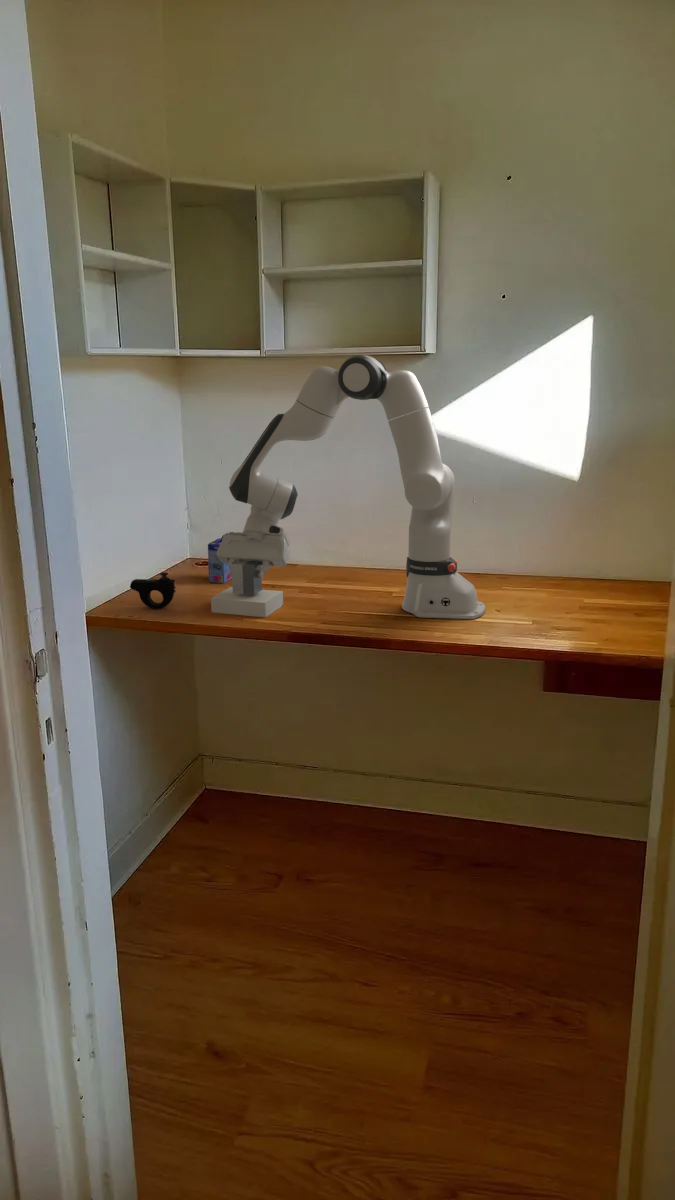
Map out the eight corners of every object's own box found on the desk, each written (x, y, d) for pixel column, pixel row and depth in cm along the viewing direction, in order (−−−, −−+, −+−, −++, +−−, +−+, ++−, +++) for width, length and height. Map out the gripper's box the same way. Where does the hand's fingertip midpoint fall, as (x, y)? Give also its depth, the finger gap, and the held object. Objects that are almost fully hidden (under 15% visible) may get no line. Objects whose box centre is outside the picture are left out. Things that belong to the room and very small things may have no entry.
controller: (174, 610, 231) (171, 575, 228) (130, 609, 232) (127, 574, 229) (178, 606, 235) (176, 571, 232) (135, 605, 236) (132, 570, 233)
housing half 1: (251, 589, 233) (249, 560, 230) (243, 593, 228) (242, 565, 226) (240, 588, 234) (239, 560, 231) (232, 593, 229) (231, 564, 227)
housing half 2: (261, 590, 232) (260, 561, 229) (254, 594, 227) (253, 565, 225) (251, 589, 233) (249, 560, 230) (243, 593, 228) (242, 565, 226)
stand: (283, 605, 235) (282, 591, 234) (265, 617, 224) (265, 602, 223) (230, 600, 240) (230, 586, 239) (211, 612, 229) (210, 598, 228)
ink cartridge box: (225, 583, 258) (223, 537, 254) (208, 583, 259) (205, 536, 255) (236, 576, 267) (234, 530, 263) (220, 575, 268) (217, 530, 264)
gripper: (221, 525, 235) (206, 567, 229) (289, 529, 229) (276, 572, 223) (229, 538, 241) (215, 579, 234) (295, 542, 234) (283, 584, 228)
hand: (245, 576), depth 229 cm, fingers open, 6 cm apart
